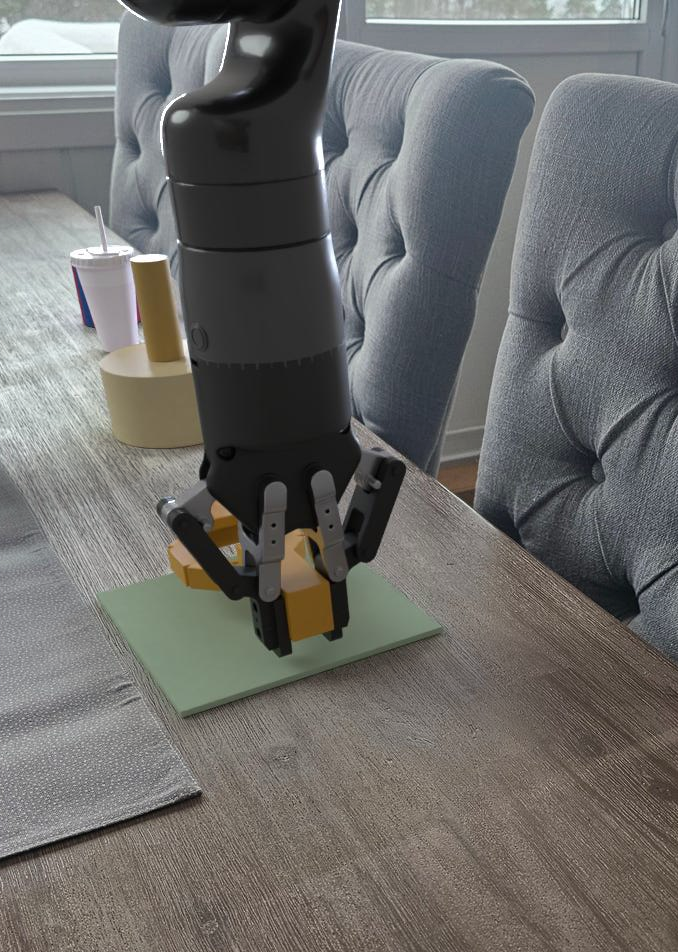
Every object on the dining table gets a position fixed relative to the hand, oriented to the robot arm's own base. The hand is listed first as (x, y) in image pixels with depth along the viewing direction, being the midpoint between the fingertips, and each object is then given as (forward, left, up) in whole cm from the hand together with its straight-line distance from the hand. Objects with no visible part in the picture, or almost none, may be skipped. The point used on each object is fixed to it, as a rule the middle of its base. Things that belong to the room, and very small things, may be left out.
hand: (304, 641), depth 63 cm
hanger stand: (+7, +42, -1) cm, 43 cm away
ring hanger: (0, +7, +1) cm, 7 cm away
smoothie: (+10, +69, -1) cm, 70 cm away
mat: (0, +6, -1) cm, 7 cm away
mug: (+13, +82, -1) cm, 83 cm away
